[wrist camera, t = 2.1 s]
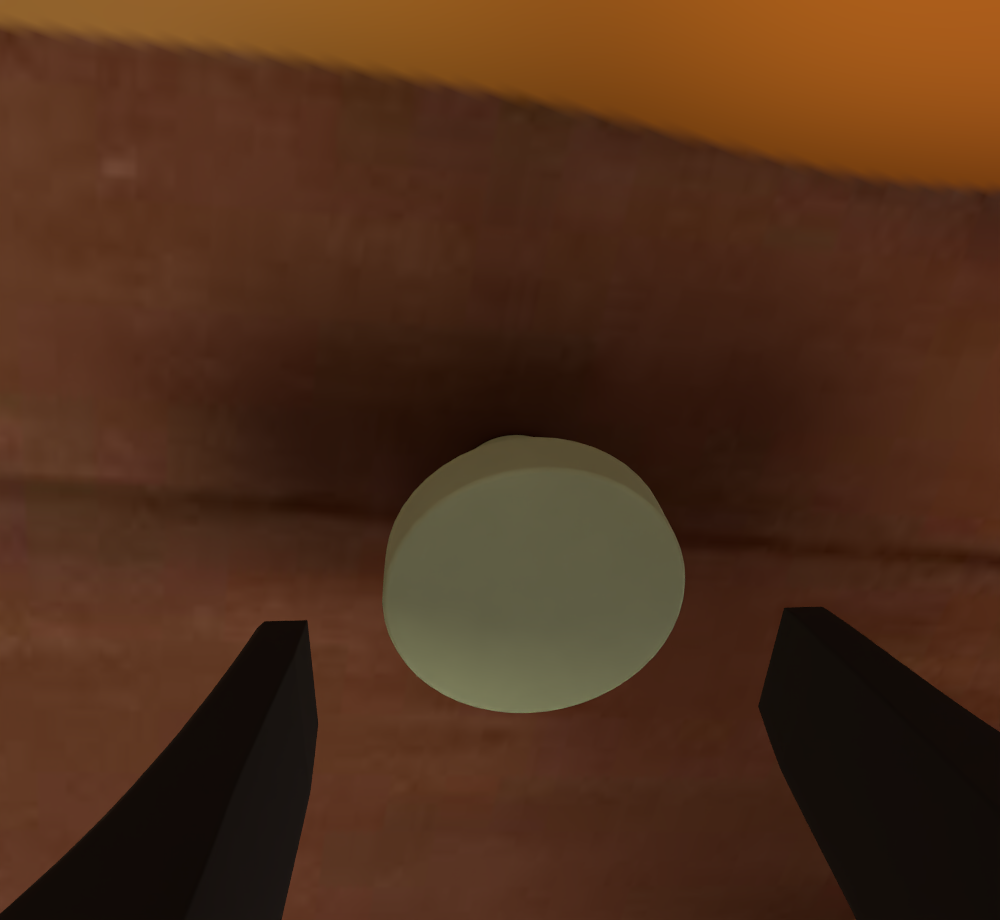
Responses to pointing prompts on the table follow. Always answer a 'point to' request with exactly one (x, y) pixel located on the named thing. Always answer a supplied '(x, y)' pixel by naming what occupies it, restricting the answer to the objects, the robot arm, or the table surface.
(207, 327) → the table surface
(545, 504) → the pad
